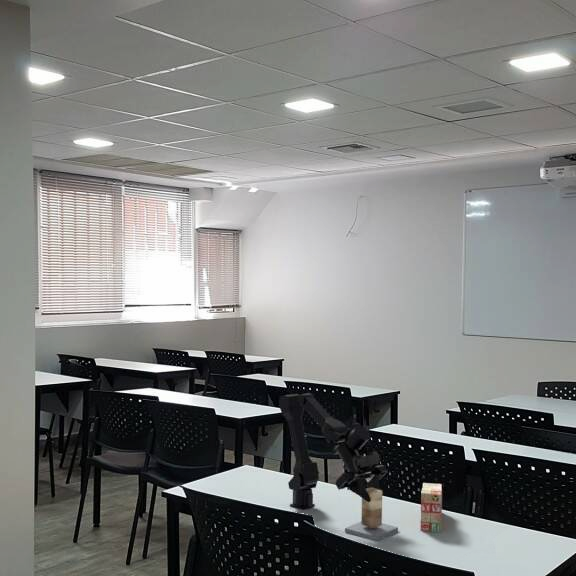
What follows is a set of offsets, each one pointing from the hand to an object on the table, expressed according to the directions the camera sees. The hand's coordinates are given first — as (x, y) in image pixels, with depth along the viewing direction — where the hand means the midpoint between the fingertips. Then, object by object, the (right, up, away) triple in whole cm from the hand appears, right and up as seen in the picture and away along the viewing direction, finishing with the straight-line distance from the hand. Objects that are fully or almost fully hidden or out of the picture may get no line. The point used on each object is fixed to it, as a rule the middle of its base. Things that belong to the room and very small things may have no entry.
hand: (375, 500), depth 226 cm
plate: (-1, -10, +1) cm, 10 cm away
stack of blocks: (+20, -11, +12) cm, 26 cm away
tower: (-1, -8, +1) cm, 8 cm away
